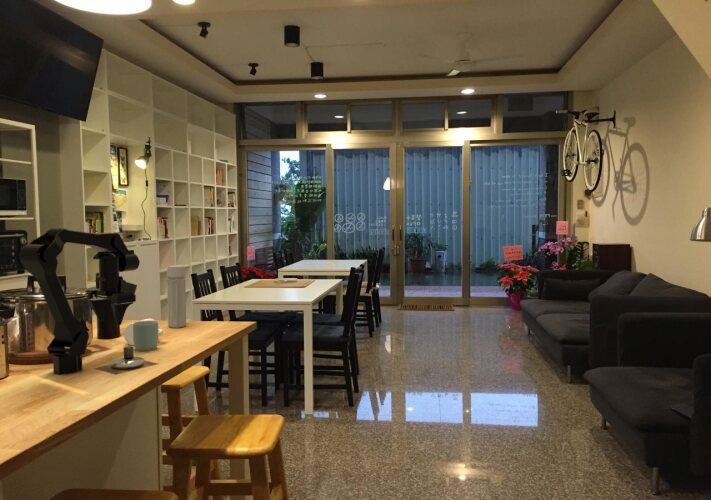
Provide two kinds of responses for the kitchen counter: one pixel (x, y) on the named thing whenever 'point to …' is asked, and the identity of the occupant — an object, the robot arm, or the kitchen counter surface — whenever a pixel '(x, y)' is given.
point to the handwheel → (127, 360)
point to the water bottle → (176, 296)
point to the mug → (129, 332)
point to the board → (118, 371)
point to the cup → (145, 335)
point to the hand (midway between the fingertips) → (110, 323)
